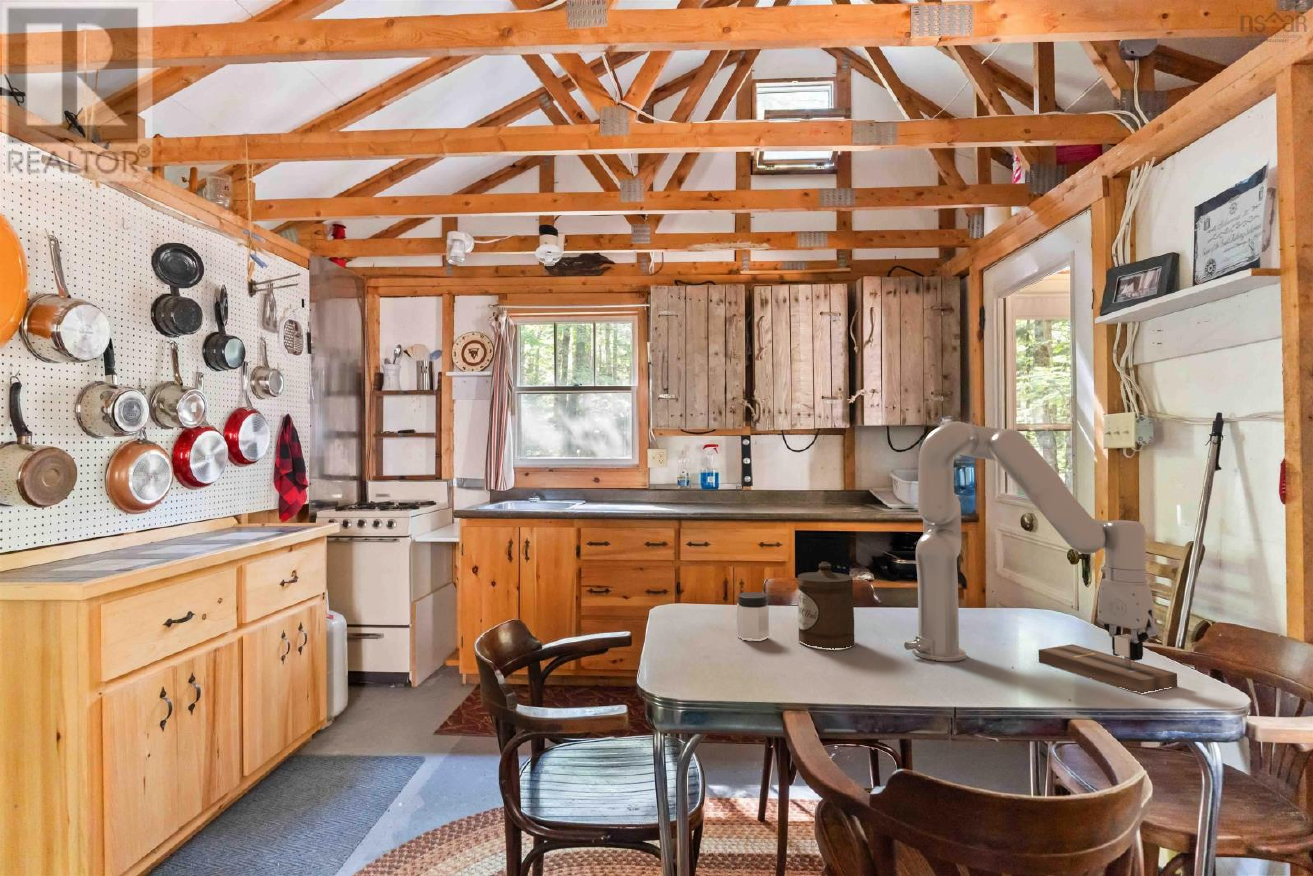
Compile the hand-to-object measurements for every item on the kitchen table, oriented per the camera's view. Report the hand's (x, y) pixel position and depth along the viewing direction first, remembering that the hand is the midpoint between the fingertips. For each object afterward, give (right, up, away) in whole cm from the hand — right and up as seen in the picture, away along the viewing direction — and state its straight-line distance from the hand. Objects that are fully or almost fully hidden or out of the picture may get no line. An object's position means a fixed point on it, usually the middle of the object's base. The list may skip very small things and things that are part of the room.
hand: (1127, 656), depth 148 cm
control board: (-2, -6, +5) cm, 8 cm away
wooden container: (-60, -7, +31) cm, 68 cm away
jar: (-79, -7, +37) cm, 88 cm away
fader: (0, -2, 0) cm, 2 cm away
